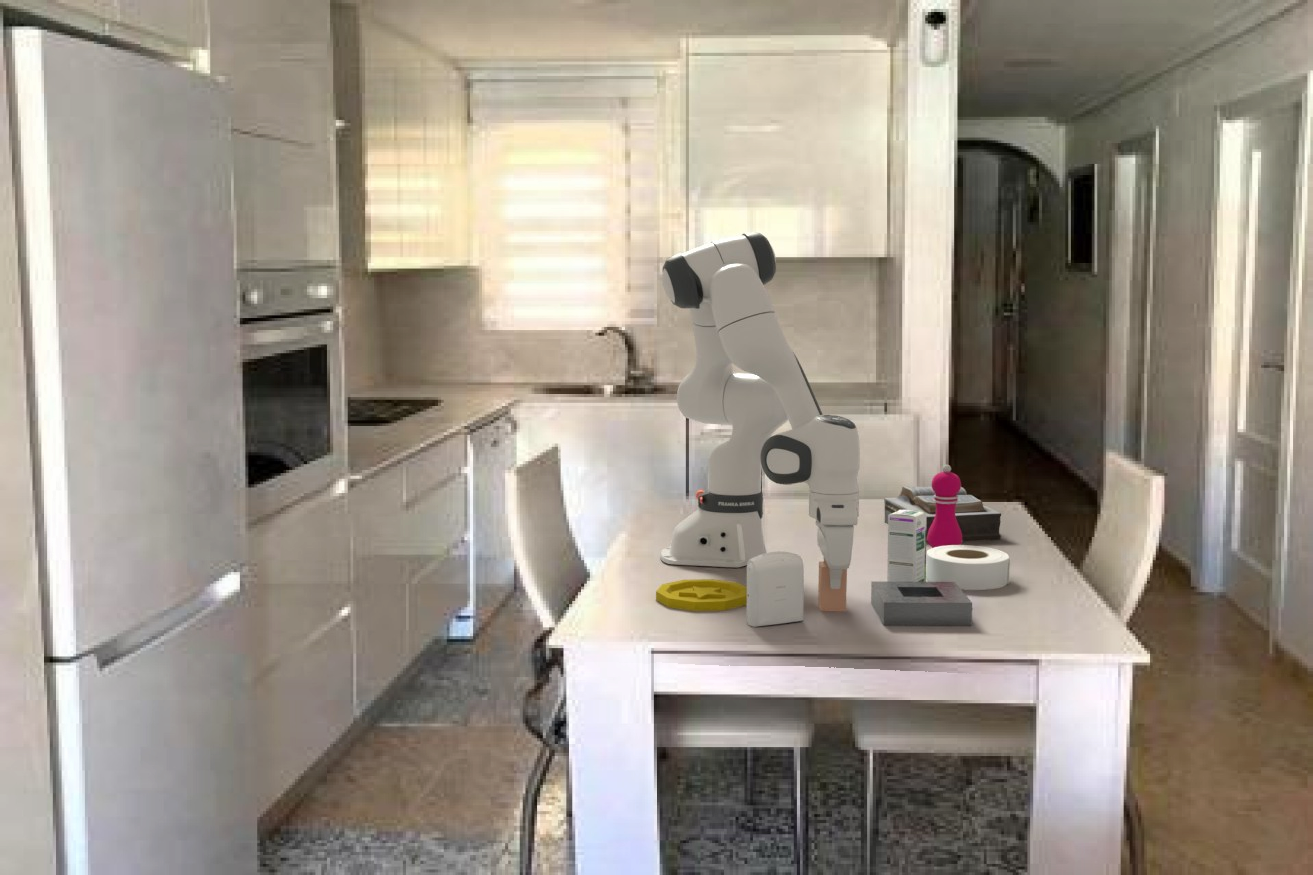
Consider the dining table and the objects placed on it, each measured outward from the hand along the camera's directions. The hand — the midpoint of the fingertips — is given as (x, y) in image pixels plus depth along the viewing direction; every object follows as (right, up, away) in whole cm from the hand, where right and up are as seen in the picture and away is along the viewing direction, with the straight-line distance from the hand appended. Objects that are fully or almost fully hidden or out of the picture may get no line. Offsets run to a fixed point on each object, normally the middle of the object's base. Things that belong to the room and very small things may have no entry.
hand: (832, 582), depth 238 cm
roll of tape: (+29, -2, +22) cm, 36 cm away
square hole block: (+15, -5, -4) cm, 16 cm away
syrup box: (+16, -3, +16) cm, 23 cm away
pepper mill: (+29, 0, +40) cm, 49 cm away
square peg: (0, -5, +1) cm, 5 cm away
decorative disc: (-23, -4, +7) cm, 24 cm away
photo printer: (-11, -6, -9) cm, 16 cm away
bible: (+34, +4, +69) cm, 78 cm away
